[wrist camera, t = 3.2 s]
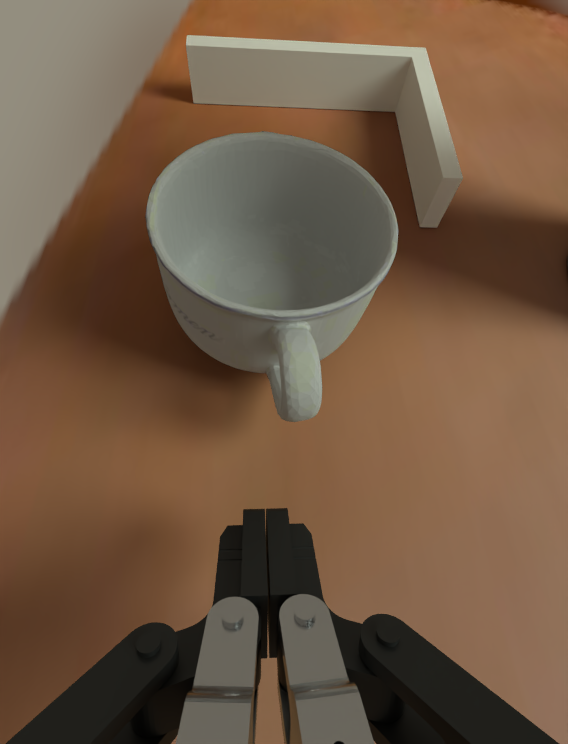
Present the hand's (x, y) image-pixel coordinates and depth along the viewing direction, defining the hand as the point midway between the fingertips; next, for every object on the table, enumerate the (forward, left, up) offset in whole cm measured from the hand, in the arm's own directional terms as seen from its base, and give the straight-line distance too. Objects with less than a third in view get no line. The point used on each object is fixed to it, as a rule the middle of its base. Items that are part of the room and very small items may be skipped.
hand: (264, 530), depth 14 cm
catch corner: (-3, -26, -6) cm, 27 cm away
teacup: (0, -11, -6) cm, 13 cm away
